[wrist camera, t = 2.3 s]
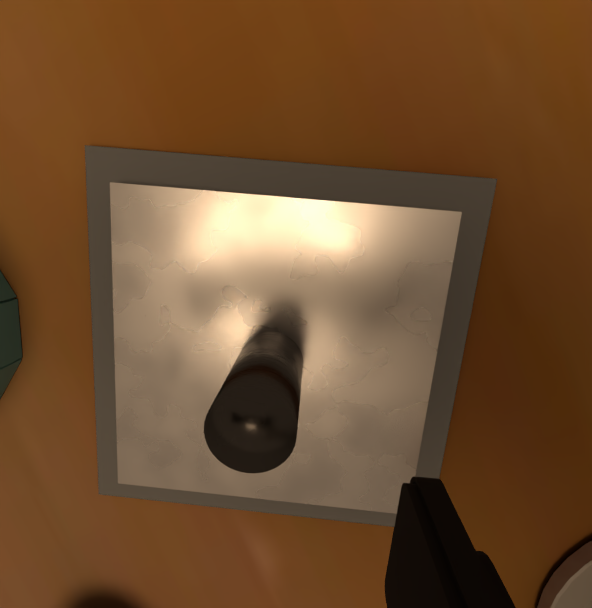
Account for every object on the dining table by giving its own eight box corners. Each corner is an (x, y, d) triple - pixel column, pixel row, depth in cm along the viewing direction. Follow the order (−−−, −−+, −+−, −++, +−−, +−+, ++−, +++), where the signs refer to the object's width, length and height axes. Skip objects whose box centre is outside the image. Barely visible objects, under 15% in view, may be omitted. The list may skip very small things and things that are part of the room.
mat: (492, 179, 17) (497, 178, 17) (427, 524, 21) (428, 530, 21) (89, 146, 18) (84, 145, 17) (102, 489, 22) (98, 494, 22)
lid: (455, 212, 17) (541, 212, 11) (404, 503, 21) (446, 640, 14) (118, 183, 18) (0, 166, 11) (125, 473, 21) (38, 592, 15)
